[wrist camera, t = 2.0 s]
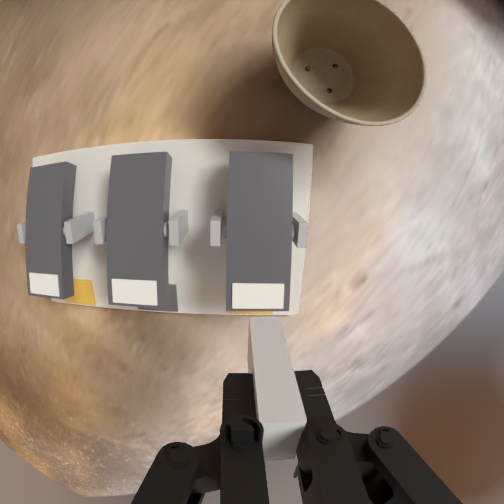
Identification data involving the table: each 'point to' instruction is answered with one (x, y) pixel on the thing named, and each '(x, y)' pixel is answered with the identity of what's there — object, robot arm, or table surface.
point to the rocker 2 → (138, 229)
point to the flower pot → (349, 59)
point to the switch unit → (177, 220)
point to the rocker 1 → (49, 230)
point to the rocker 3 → (259, 231)
